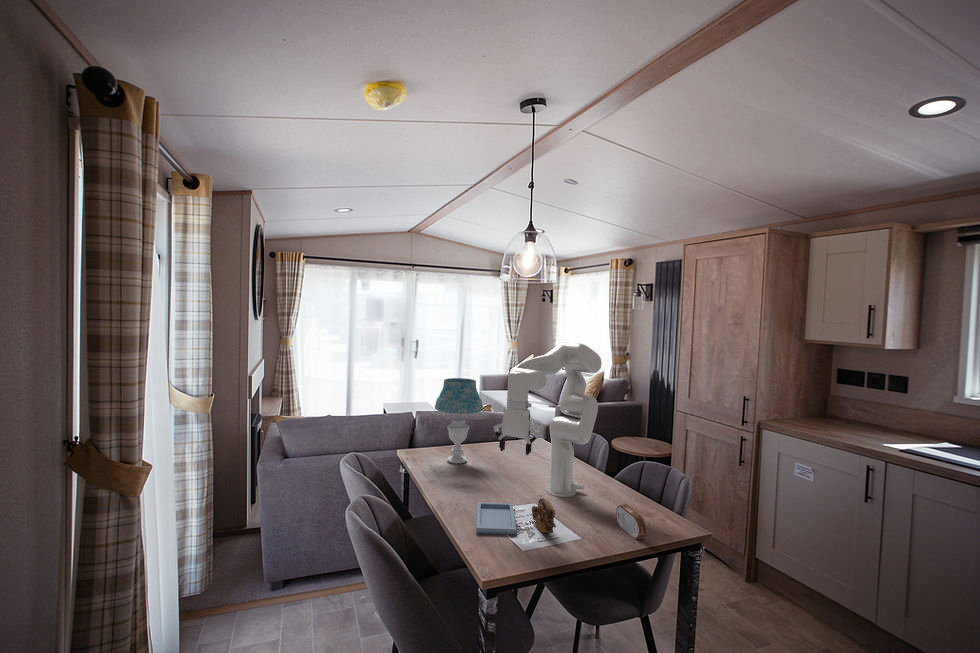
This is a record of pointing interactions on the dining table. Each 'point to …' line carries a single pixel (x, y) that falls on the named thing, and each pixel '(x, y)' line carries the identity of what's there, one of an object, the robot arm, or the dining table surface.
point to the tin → (631, 521)
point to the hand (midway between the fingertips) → (515, 452)
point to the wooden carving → (544, 516)
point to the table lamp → (458, 411)
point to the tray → (495, 518)
